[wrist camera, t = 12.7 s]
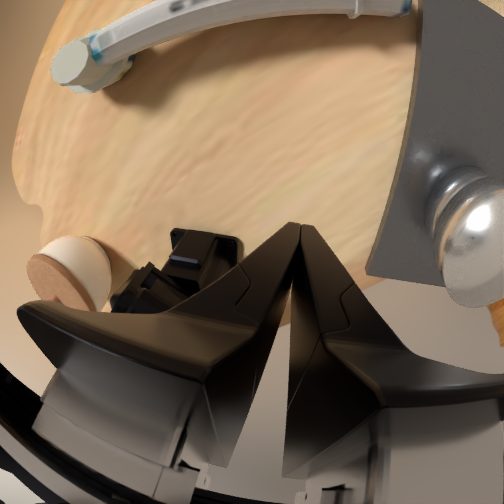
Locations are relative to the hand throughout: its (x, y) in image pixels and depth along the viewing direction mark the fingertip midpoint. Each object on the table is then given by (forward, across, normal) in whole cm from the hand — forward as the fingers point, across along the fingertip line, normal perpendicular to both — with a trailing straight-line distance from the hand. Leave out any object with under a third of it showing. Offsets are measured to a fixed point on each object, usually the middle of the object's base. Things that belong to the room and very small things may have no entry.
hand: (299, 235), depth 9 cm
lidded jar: (+12, +24, +15) cm, 31 cm away
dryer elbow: (+8, -18, +2) cm, 20 cm away
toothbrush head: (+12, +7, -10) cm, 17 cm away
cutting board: (+12, -18, -3) cm, 22 cm away
